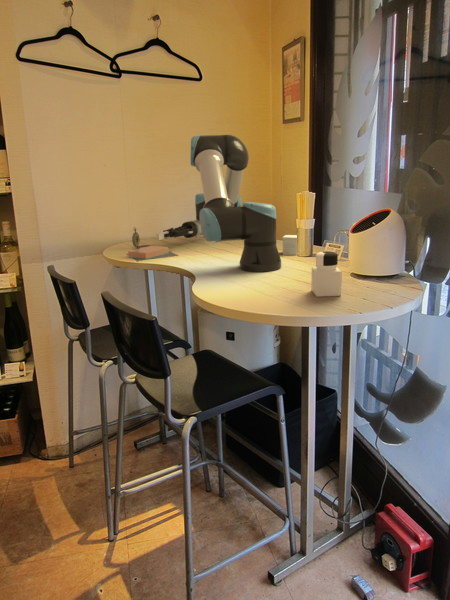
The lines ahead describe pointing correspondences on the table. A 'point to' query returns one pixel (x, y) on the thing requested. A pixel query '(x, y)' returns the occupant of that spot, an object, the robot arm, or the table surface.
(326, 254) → the medicine bottle
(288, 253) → the product box
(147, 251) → the tile
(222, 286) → the table surface
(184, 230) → the robot arm
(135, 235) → the pocket watch
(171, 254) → the mat
